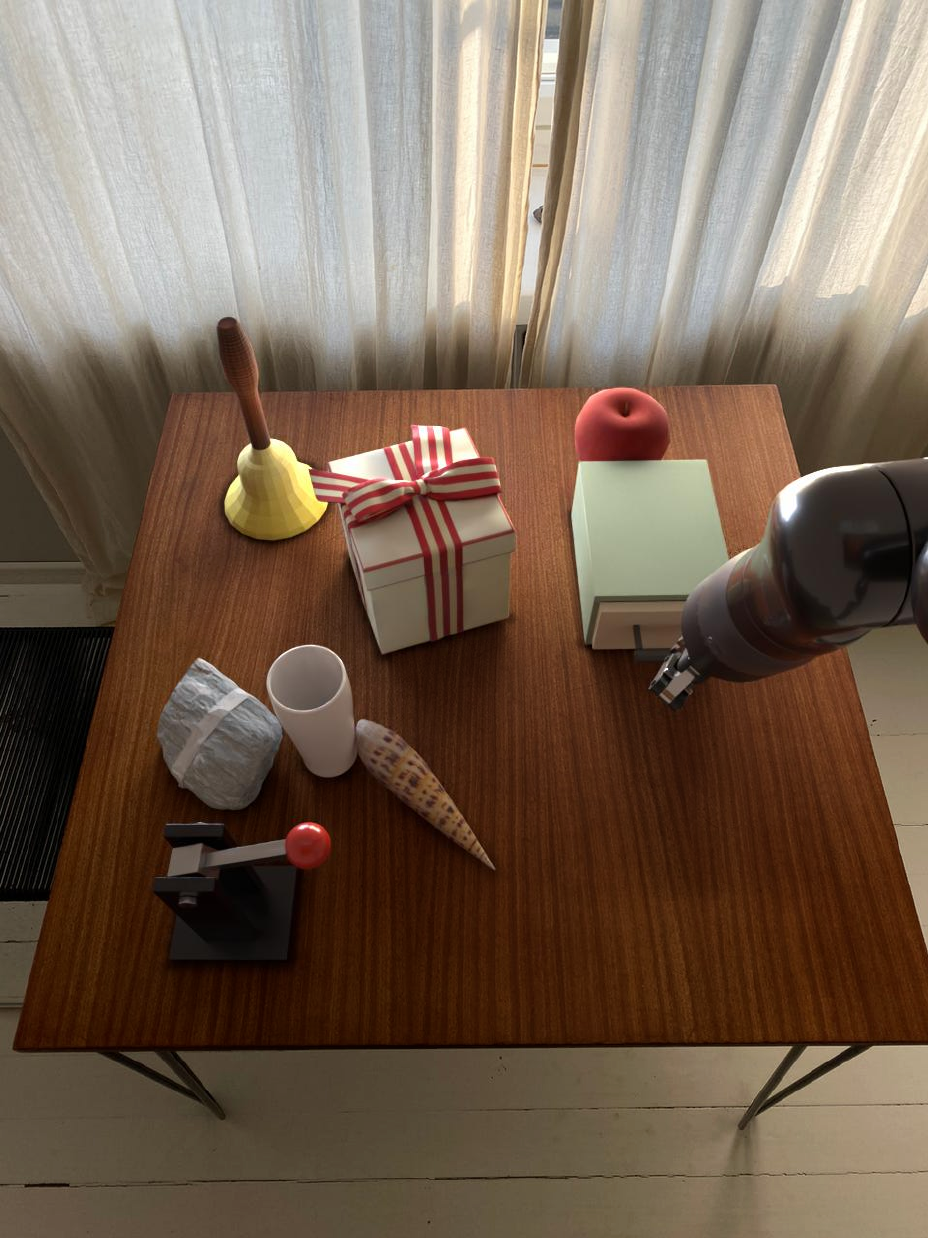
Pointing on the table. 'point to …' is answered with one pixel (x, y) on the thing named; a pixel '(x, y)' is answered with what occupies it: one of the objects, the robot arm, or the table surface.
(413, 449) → the gift box
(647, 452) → the apple
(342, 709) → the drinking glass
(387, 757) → the seashell
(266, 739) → the decorative stone
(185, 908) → the bracket
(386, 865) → the table surface
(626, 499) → the cabinet
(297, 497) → the handbell
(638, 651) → the drawer
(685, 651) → the robot arm
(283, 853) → the lever
